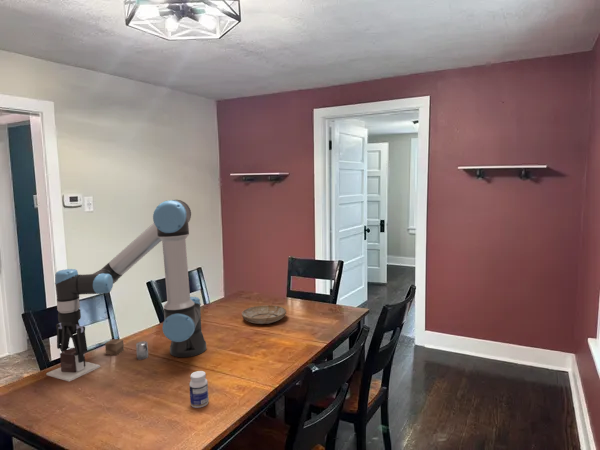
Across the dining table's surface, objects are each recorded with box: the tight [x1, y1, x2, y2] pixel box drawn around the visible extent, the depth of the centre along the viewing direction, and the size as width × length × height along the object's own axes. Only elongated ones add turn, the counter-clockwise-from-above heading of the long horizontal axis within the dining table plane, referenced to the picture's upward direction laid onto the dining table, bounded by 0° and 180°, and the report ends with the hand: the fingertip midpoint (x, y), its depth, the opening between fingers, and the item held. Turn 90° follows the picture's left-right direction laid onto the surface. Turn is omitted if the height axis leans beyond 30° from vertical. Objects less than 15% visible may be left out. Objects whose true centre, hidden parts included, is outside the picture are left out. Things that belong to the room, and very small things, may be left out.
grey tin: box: [135, 340, 149, 361], centre depth 169 cm, size 4×4×6 cm
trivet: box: [46, 361, 101, 382], centre depth 158 cm, size 13×13×1 cm
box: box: [59, 347, 86, 373], centre depth 157 cm, size 6×6×7 cm
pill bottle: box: [188, 370, 210, 409], centre depth 131 cm, size 6×6×10 cm
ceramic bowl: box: [241, 304, 287, 325], centre depth 213 cm, size 23×24×5 cm
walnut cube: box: [104, 338, 125, 356], centre depth 175 cm, size 5×5×5 cm
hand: (73, 368), depth 158 cm, fingers closed on box, 7 cm apart
